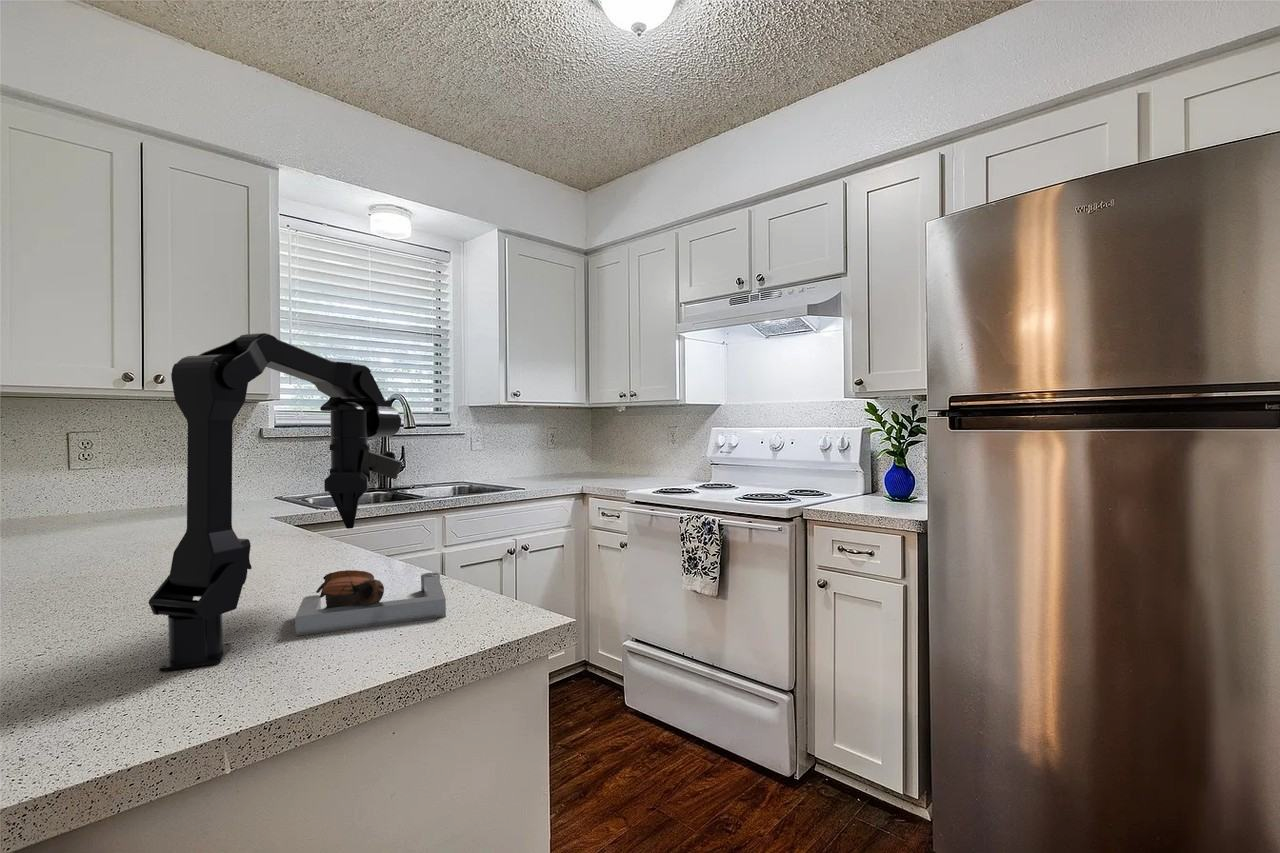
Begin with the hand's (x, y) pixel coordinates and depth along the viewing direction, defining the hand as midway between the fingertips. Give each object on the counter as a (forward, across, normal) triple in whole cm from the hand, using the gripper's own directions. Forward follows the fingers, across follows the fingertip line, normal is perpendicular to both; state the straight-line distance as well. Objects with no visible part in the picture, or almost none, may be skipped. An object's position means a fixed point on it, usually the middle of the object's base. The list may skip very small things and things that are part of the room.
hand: (350, 528), depth 107 cm
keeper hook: (+12, -8, -4) cm, 15 cm away
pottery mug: (+12, -10, -1) cm, 16 cm away
